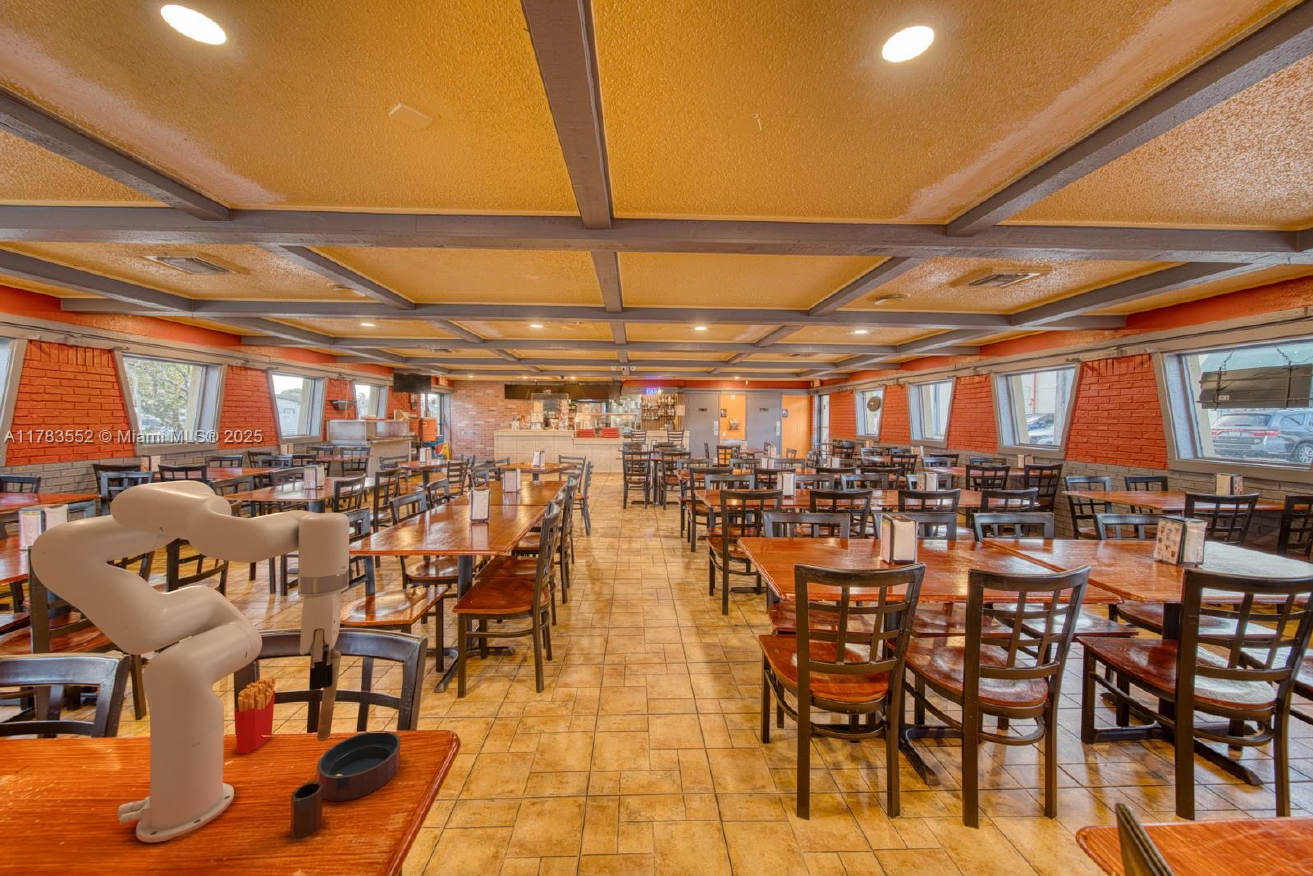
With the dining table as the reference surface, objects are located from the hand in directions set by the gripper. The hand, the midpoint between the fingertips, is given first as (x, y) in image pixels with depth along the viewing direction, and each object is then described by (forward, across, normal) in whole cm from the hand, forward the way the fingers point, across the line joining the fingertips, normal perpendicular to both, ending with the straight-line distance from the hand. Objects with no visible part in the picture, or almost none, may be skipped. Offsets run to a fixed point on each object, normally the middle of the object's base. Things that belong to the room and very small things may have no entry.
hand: (322, 683), depth 85 cm
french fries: (+25, -32, -16) cm, 44 cm away
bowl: (+24, -9, +5) cm, 27 cm away
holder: (+24, +2, -2) cm, 25 cm away
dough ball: (+23, -7, +2) cm, 24 cm away
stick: (+10, 0, 0) cm, 10 cm away
